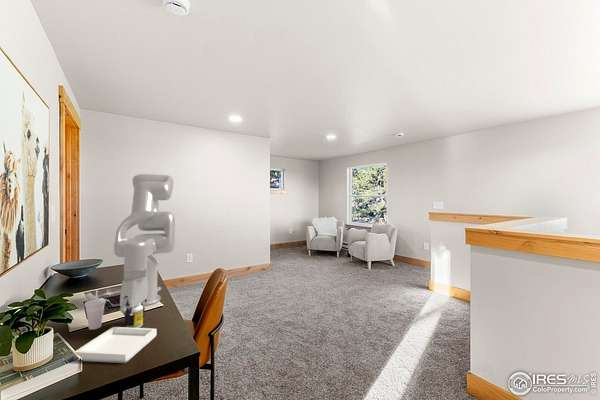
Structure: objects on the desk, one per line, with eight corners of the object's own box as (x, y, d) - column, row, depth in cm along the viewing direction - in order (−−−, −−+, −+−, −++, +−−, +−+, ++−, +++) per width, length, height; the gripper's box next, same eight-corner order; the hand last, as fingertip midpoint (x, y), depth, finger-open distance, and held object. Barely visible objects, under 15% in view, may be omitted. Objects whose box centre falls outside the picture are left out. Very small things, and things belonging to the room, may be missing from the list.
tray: (112, 333, 97) (113, 326, 97) (156, 335, 96) (156, 328, 96) (73, 360, 81) (73, 352, 81) (125, 363, 80) (125, 354, 80)
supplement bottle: (132, 322, 106) (132, 298, 106) (145, 323, 106) (146, 298, 106) (123, 329, 100) (123, 303, 100) (137, 329, 100) (138, 304, 100)
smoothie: (93, 332, 98) (94, 293, 98) (79, 330, 99) (80, 292, 99) (109, 324, 104) (110, 287, 104) (95, 322, 105) (96, 286, 105)
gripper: (140, 267, 112) (139, 311, 112) (109, 280, 94) (108, 332, 95) (158, 268, 111) (157, 312, 111) (130, 281, 94) (129, 333, 94)
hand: (134, 321), depth 103 cm, fingers closed on supplement bottle, 5 cm apart
